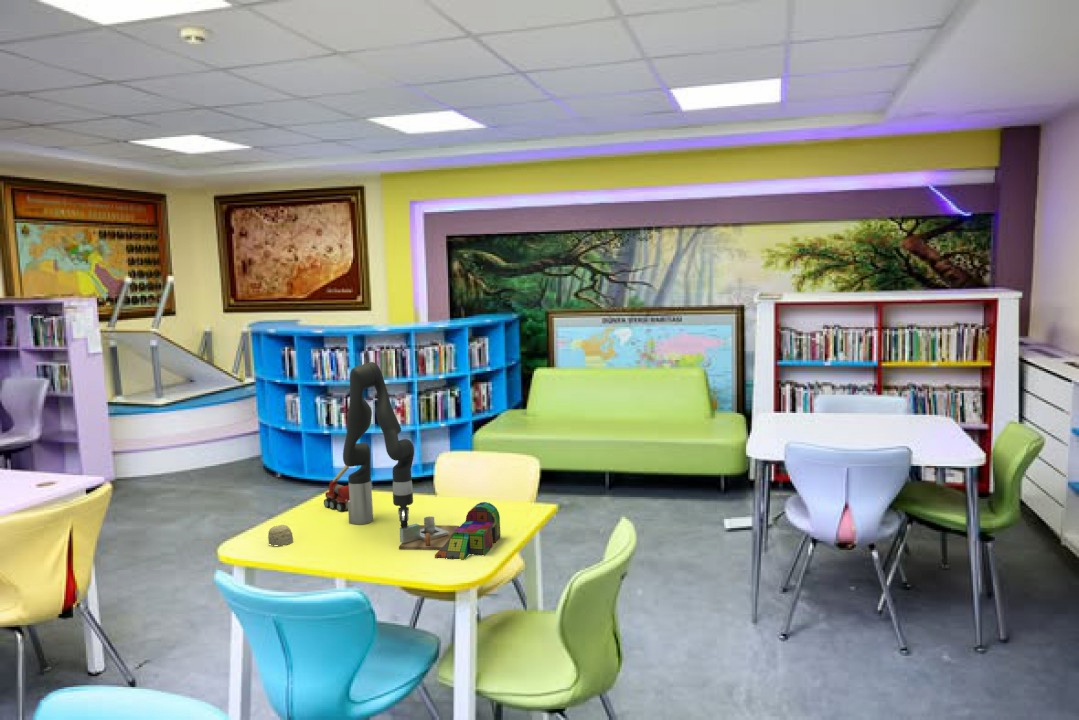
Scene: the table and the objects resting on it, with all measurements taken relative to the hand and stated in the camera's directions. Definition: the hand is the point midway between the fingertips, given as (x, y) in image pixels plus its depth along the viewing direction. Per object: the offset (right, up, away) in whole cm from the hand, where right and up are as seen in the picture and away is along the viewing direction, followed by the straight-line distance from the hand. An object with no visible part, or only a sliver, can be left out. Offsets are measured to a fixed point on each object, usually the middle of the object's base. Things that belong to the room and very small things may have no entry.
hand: (404, 535), depth 301 cm
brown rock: (-49, -4, +3) cm, 49 cm away
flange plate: (+7, -1, 0) cm, 7 cm away
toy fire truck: (-36, +1, +49) cm, 61 cm away
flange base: (+10, -2, +2) cm, 10 cm away
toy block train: (+26, -3, -9) cm, 27 cm away
